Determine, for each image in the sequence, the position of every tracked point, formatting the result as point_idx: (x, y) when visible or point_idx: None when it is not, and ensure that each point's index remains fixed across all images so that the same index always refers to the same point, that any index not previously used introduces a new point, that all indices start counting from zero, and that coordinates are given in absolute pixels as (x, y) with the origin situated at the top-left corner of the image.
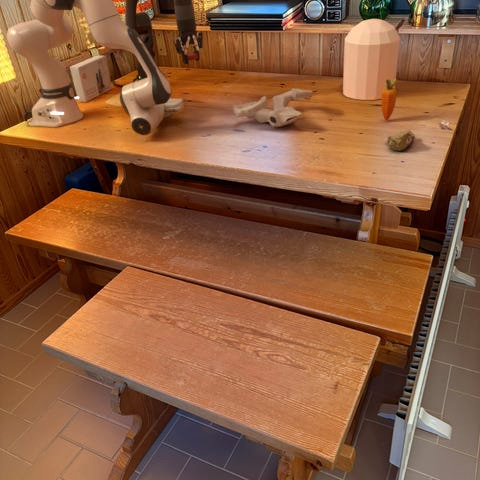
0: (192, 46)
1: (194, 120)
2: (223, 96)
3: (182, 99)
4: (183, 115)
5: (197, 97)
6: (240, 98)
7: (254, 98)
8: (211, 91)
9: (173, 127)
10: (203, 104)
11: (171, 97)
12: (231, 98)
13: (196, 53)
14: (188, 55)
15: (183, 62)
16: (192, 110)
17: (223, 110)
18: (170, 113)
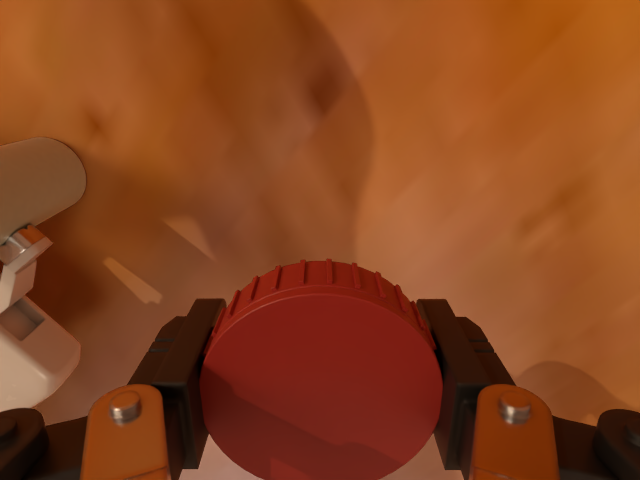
0: (471, 470)
1: (134, 366)
2: (508, 224)
3: (44, 398)
4: (134, 267)
5: (414, 72)
6: (515, 334)
7: (544, 392)
8: (574, 57)
9: None
10: (329, 226)
11: (36, 254)
12: (495, 292)
13: (429, 431)
14: (255, 412)
15: (173, 322)
16: (218, 249)
17: None
18: (75, 200)
